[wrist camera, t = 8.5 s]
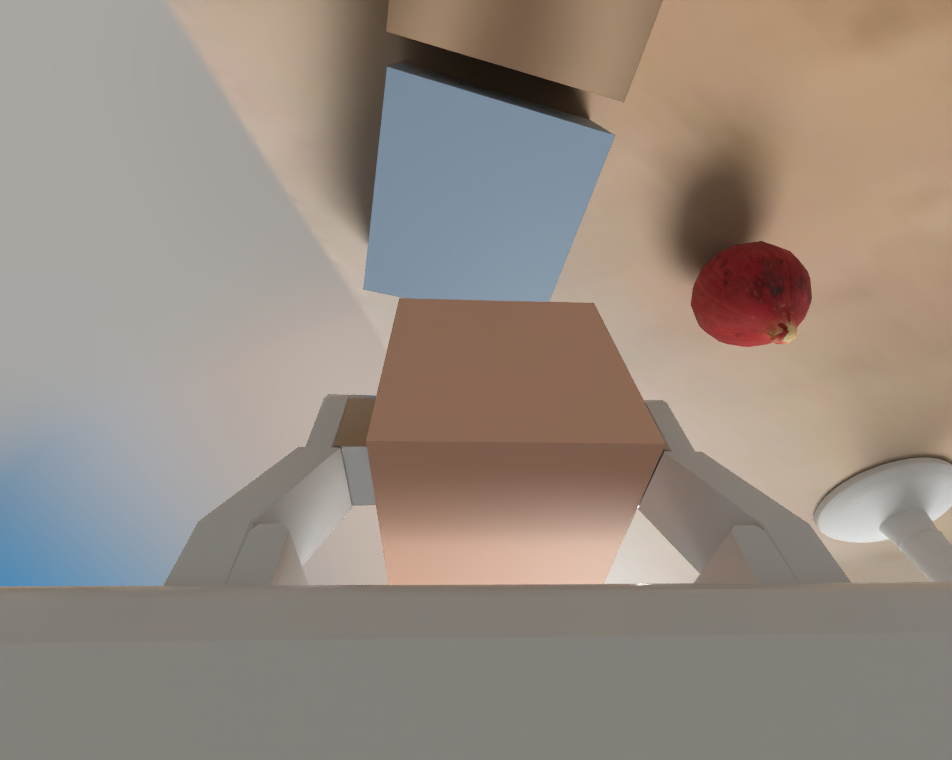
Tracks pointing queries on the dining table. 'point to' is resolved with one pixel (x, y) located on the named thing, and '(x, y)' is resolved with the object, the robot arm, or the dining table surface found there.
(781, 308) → the onion
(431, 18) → the walnut block
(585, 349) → the terracotta cube
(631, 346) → the dining table surface
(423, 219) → the slate-blue block
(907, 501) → the candlestick
